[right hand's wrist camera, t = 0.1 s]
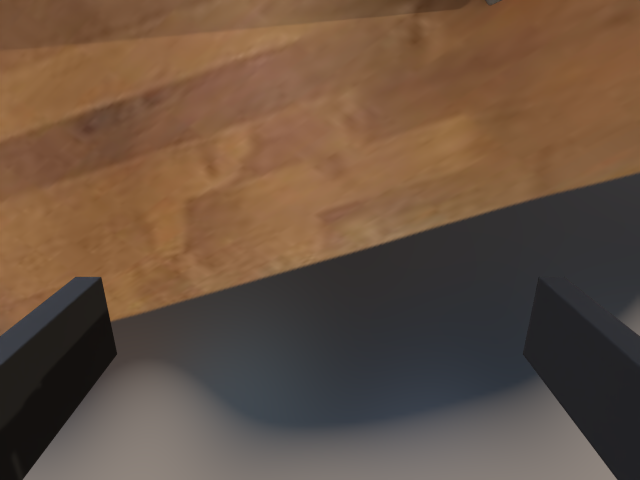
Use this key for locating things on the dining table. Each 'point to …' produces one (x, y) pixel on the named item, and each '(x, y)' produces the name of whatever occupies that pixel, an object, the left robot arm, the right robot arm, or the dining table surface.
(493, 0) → the hard drive box
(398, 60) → the dining table surface
